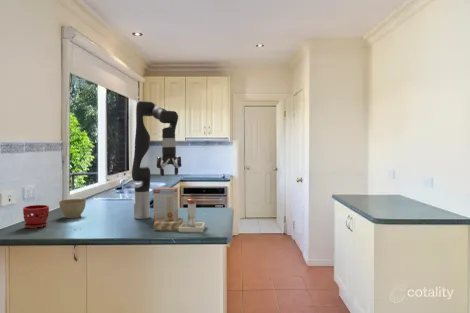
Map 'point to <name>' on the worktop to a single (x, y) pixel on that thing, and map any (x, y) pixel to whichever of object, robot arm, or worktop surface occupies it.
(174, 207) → the cracker box
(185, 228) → the tray
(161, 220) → the socket block
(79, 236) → the worktop surface
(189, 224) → the pin
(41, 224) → the plant pot
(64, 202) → the planter bowl
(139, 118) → the robot arm
